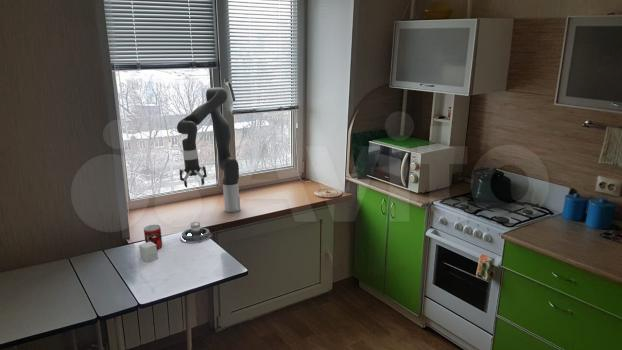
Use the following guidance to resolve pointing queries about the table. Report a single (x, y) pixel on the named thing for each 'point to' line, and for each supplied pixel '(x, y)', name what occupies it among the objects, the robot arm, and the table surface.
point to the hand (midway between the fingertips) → (194, 186)
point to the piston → (195, 229)
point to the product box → (148, 251)
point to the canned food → (153, 235)
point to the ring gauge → (200, 238)
